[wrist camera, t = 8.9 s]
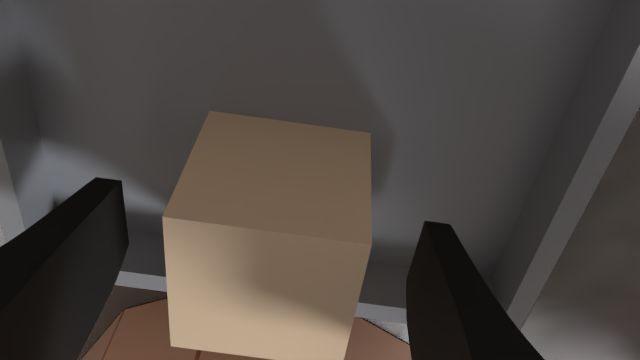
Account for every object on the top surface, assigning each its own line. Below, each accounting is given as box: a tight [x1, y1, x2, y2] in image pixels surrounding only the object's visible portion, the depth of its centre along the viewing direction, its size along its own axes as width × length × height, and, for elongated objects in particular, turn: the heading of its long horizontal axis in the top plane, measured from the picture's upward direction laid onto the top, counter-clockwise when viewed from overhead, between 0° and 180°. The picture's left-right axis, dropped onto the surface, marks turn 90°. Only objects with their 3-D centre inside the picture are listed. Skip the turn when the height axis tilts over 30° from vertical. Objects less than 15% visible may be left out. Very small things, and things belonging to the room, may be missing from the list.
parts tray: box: [0, 0, 640, 330], centre depth 12 cm, size 14×14×2 cm
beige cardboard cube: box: [162, 111, 372, 360], centre depth 13 cm, size 4×4×4 cm
